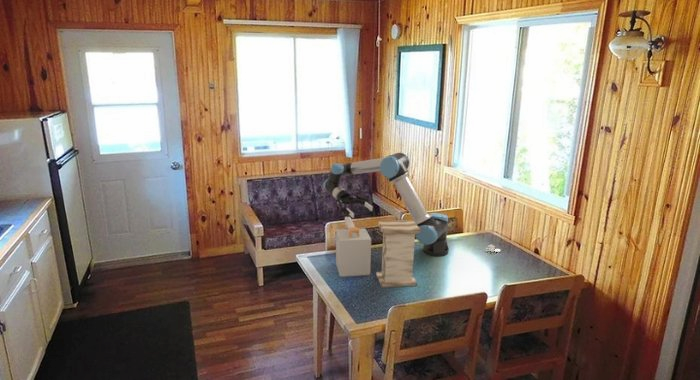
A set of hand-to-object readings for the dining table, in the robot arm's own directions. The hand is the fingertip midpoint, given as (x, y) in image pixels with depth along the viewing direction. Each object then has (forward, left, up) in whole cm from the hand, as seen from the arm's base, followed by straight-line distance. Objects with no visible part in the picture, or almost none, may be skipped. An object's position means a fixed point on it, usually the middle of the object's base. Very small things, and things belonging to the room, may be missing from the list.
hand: (363, 212), depth 258 cm
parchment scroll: (-11, +38, -24) cm, 46 cm away
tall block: (+9, +22, -24) cm, 34 cm away
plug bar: (+9, +15, -4) cm, 18 cm away
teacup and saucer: (-78, +12, -25) cm, 83 cm away
